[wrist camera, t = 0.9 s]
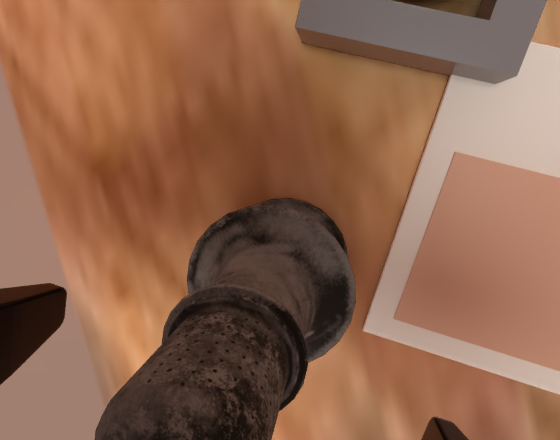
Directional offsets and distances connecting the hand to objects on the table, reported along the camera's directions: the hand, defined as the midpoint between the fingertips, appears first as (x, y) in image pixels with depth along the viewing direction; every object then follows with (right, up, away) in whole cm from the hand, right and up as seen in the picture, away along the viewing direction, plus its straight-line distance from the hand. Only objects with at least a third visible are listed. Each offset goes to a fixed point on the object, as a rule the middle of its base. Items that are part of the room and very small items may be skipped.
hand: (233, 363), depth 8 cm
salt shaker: (+1, +2, +7) cm, 8 cm away
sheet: (+12, +3, +5) cm, 13 cm away
